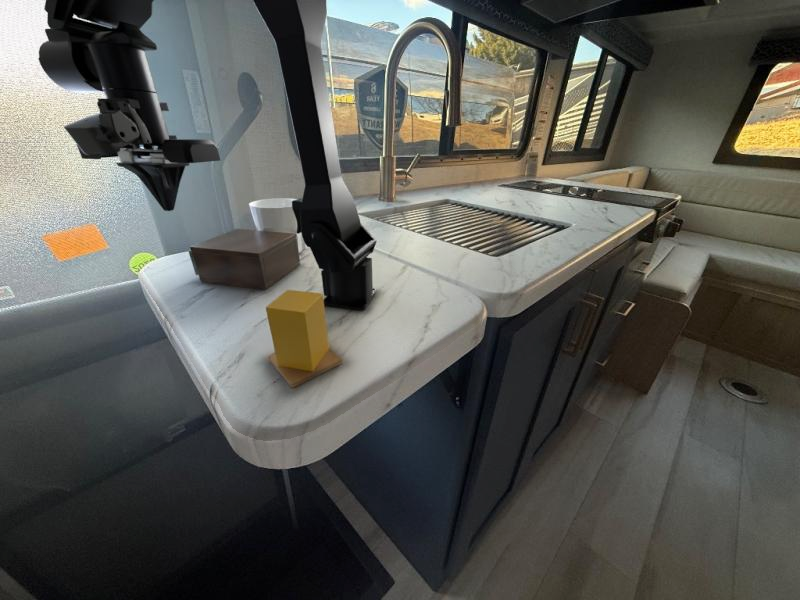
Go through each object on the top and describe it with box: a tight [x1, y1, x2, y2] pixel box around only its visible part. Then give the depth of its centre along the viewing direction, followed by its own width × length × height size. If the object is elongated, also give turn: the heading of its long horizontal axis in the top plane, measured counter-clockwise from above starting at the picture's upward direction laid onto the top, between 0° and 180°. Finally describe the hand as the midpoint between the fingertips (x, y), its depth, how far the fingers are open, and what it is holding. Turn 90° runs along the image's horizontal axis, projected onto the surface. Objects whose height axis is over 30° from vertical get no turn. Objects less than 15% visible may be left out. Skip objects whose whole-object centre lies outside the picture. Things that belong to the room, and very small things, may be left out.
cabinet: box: [189, 228, 301, 291], centre depth 54 cm, size 12×11×6 cm
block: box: [265, 289, 330, 371], centre depth 32 cm, size 4×4×7 cm
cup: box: [248, 197, 306, 254], centre depth 64 cm, size 10×10×10 cm
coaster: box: [267, 347, 343, 389], centre depth 34 cm, size 6×6×1 cm
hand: (169, 210), depth 49 cm, fingers closed
